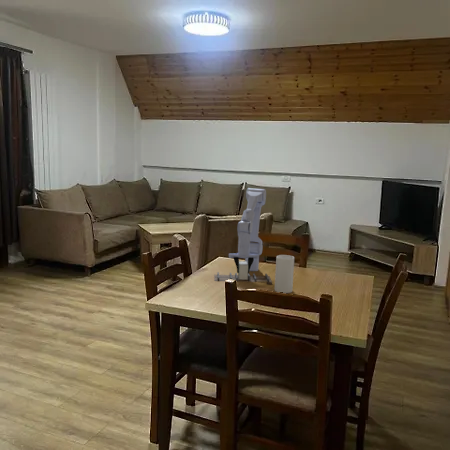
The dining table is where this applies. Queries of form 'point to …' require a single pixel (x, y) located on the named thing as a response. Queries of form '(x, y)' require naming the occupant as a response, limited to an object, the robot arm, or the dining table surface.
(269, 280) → the notch rail
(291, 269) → the cup
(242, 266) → the white rectangular block
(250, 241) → the robot arm
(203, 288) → the dining table surface
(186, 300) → the dining table surface
